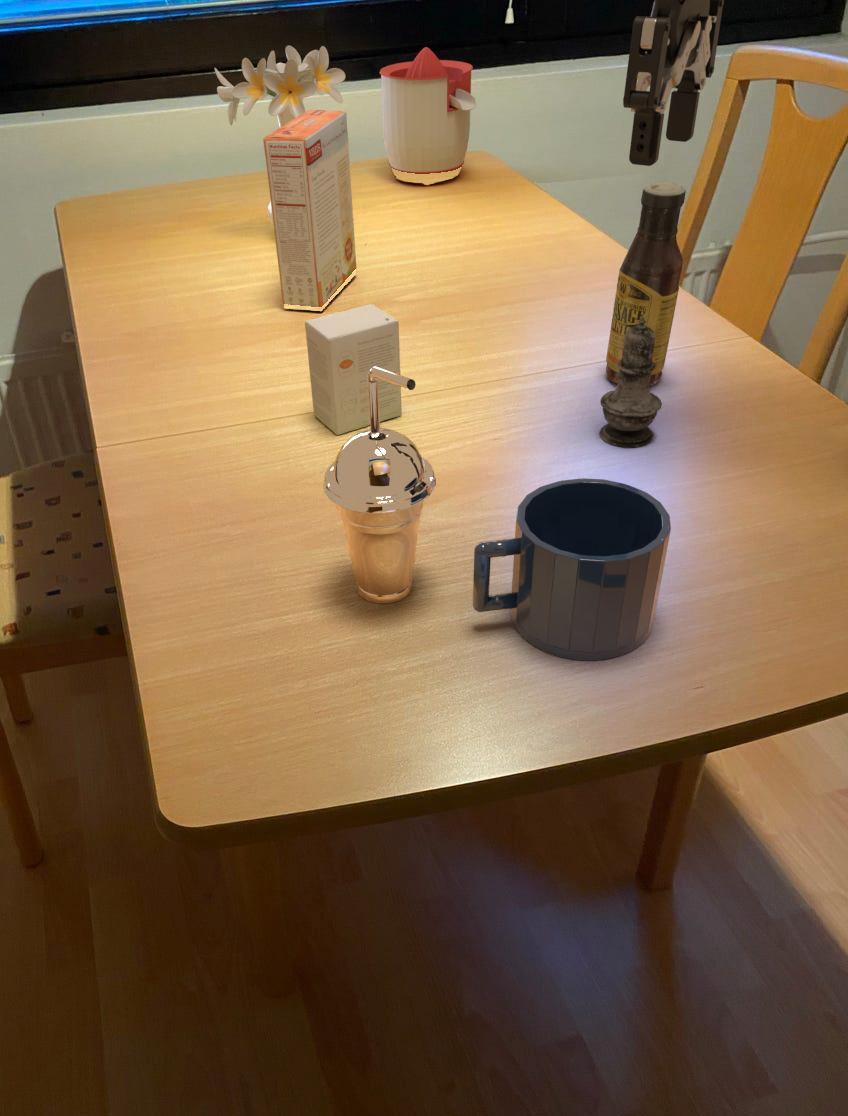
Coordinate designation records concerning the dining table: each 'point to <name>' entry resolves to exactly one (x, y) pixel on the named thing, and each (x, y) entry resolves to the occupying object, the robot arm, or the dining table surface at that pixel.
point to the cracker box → (311, 205)
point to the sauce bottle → (649, 277)
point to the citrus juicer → (426, 113)
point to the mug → (581, 568)
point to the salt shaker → (632, 393)
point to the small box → (352, 366)
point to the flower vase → (282, 86)
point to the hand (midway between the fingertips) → (661, 151)
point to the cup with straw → (380, 500)
